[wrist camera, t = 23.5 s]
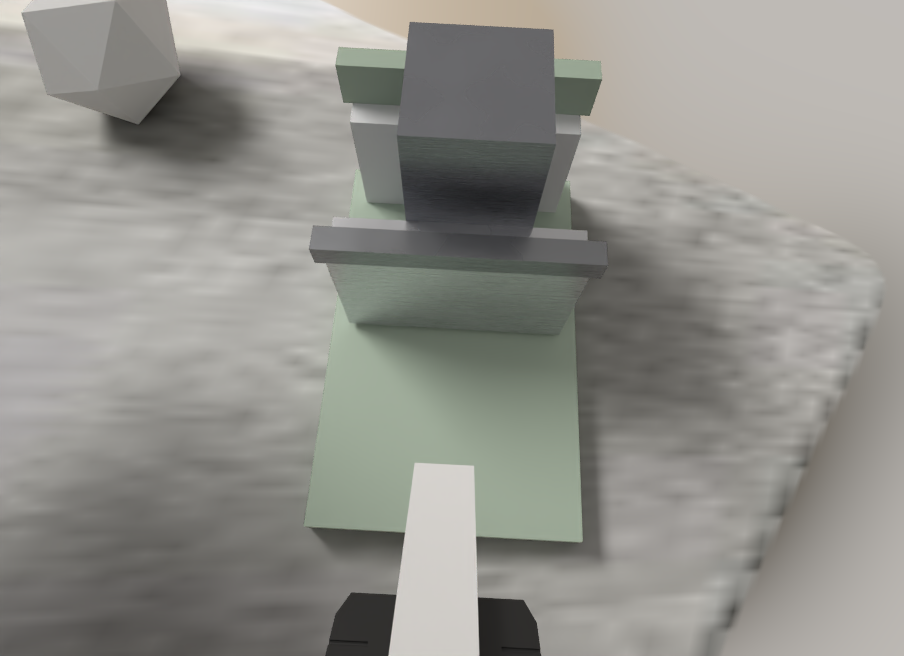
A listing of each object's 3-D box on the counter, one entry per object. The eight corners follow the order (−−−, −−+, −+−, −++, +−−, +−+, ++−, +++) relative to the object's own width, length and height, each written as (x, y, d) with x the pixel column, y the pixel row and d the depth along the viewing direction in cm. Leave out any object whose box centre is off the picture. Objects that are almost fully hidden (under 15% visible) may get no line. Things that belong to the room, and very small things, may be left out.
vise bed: (310, 527, 29) (239, 513, 19) (359, 183, 37) (328, 46, 27) (575, 542, 29) (648, 536, 19) (565, 195, 37) (610, 61, 27)
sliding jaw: (340, 322, 31) (309, 249, 24) (346, 283, 32) (317, 200, 25) (567, 335, 31) (608, 265, 24) (566, 295, 32) (605, 216, 25)
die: (228, 108, 41) (177, -56, 35) (121, 139, 34) (39, -58, 29) (151, 113, 44) (94, -36, 39) (41, 141, 37) (-44, -33, 32)
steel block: (413, 289, 33) (396, 135, 21) (420, 205, 35) (409, 21, 23) (514, 295, 33) (556, 144, 21) (515, 210, 35) (553, 29, 23)
